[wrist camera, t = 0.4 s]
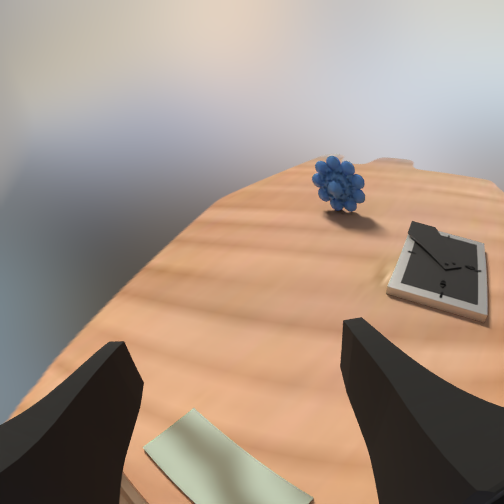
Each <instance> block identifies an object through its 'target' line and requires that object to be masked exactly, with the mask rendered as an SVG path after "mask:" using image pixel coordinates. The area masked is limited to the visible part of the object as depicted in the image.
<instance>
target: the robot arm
mask: <svg viewBox="0 0 504 504" xmlns="http://www.w3.org/2000/svg"><path fill="white" fill-rule="evenodd" d="M340 367H341V371H342V375H343V380H344V384H345V388H346V392H347V394H348V397H349V400H350V403H351V405H352V408H353V410H354V413H355V416H356V418H357V421H358V424H359V426H360V429H361V432H362V434H363V437H364V440H365V443H366V445H367V449H368V452H369V455H370V459H371V464H372V468H373V473H374V477H375V483H376V488H377V494H378V499H379V504H504V407H501V406H498V405H495V404H493V403H490V402H487V401H485V400H483V399H480V398H478V397H476V396H474V395H471V394H469V393H467V392H465V391H463V390H461V389H459V388H457V387H456V386H454V385H452V384H450V383H449V382H447V381H445V380H443V379H442V378H440V377H438V376H437V375H435V374H433V373H432V372H430V371H429V370H428V369H426V368H425V367H423V366H422V365H420V364H419V363H417V362H416V361H415V360H413V359H412V358H411V357H409V356H408V355H407V354H405V353H404V352H403V351H401V350H400V349H399V348H398V347H396V346H395V345H394V344H393V343H391V342H390V341H389V340H388V339H387V338H385V337H384V336H383V335H382V334H381V333H380V332H378V331H377V330H376V329H375V328H374V327H372V326H371V325H370V324H369V323H368V322H367V321H365V320H364V319H363V318H362V317H360V318H355V319H349V320H343V335H342V351H341V364H340ZM143 385H144V382H143V380H142V378H141V376H140V374H139V372H138V370H137V368H136V366H135V364H134V362H133V360H132V358H131V355H130V353H129V351H128V349H127V347H126V344H125V342H124V341H120V342H108V343H107V344H106V345H104V346H103V347H102V348H101V349H99V350H98V351H97V352H96V353H95V354H94V355H93V356H91V357H90V358H89V359H88V360H87V361H86V362H85V363H84V364H82V365H81V366H80V367H79V368H78V369H77V370H76V371H75V372H74V373H72V374H71V375H70V376H69V377H68V378H67V379H66V380H64V381H63V382H62V383H61V384H60V385H58V386H57V387H56V388H55V389H54V390H53V391H51V392H50V393H49V394H48V395H47V396H45V397H44V398H43V399H41V400H40V401H39V402H37V403H36V404H34V405H33V406H32V407H30V408H29V409H27V410H26V411H24V412H23V413H21V414H19V415H18V416H16V417H14V418H12V419H11V420H9V421H7V422H5V423H3V424H2V425H0V504H119V502H120V488H121V480H122V472H123V466H124V462H125V457H126V454H127V450H128V447H129V443H130V440H131V436H132V433H133V430H134V426H135V423H136V420H137V416H138V413H139V409H140V405H141V399H142V392H143Z"/></svg>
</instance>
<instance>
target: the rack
mask: <svg viewBox="0 0 504 504" xmlns="http://www.w3.org/2000/svg"><path fill="white" fill-rule="evenodd" d="M143 448H144V449H145V451H146V452H147V453H148V454H149V455H150V457H151V458H152V459H153V460H154V461H155V462H156V463H157V465H158V466H159V467H160V468H161V469H162V470H163V471H164V472H165V473H166V475H167V476H168V477H169V478H170V479H171V480H172V481H173V482H174V483H175V484H176V485H177V486H178V487H179V488H180V489H181V490H182V491H183V492H184V493H185V494H186V495H187V496H188V497H189V498H190V499H191V500H192V501H193V502H194V503H195V504H309V503H310V502H311V501H312V500H313V497H312V496H310V495H308V494H307V493H305V492H303V491H302V490H300V489H299V488H297V487H295V486H294V485H292V484H291V483H289V482H288V481H286V480H285V479H283V478H282V477H280V476H279V475H277V474H276V473H274V472H273V471H272V470H270V469H269V468H267V467H266V466H265V465H263V464H262V463H260V462H259V461H258V460H256V459H255V458H254V457H252V456H251V455H250V454H248V453H247V452H246V451H244V450H243V449H242V448H241V447H239V446H238V445H237V444H236V443H234V442H233V441H232V440H231V439H229V438H228V437H227V436H226V435H224V434H223V433H222V432H221V431H220V430H218V429H217V428H216V427H215V426H214V425H213V424H211V423H210V422H209V421H208V420H207V419H206V418H205V417H203V416H202V415H201V414H200V413H199V412H198V411H197V410H196V409H195V408H193V409H192V410H191V411H190V412H188V413H187V414H186V415H185V416H183V417H182V418H181V419H179V420H178V421H177V422H176V423H174V424H173V425H172V426H170V427H169V428H168V429H166V430H165V431H164V432H163V433H161V434H160V435H159V436H157V437H156V438H155V439H153V440H152V441H150V442H149V443H148V444H146V445H145V446H144V447H143ZM119 504H149V503H148V502H147V501H146V500H145V499H144V498H143V496H142V495H141V494H140V493H139V492H138V490H137V489H136V488H135V487H134V485H133V484H132V483H131V482H130V480H129V479H128V478H127V476H126V475H125V474H124V472H122V480H121V488H120V502H119Z"/></svg>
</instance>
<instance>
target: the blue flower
mask: <svg viewBox="0 0 504 504" xmlns="http://www.w3.org/2000/svg"><path fill="white" fill-rule="evenodd" d="M326 163H327V164H326ZM326 163H325V162H323V161H318V162H317V163H316V165H315V168H316V171H317V172H318V173H316V174H314V175H313V177H312V181H313V183H314V185H315V186H317V187H319V188H320V189H319V190H318V195H319V197H320V198H321V199H322V200H323V201H326V202H327V201H329V200H330V204H331V206H332V208H333V209H335V210H337V211H340V210H342V209H343V207H345V209H346V210H348V211H350V212H352V211H355V210H356V208H357V204H356V203H359V204H360V203H363V202H364V201H365V194H364V193H363V191H362V190H360V189H362V188H363V187H364V179H363V178H362V177H361V176H360V175H358V174H354V173H355V169H354V166H353V165H352V163H350V162H348V161H344V162H342V163H341V164H340V161H339V159H338V158H337V157H334V156H329V157H328V158H327V160H326ZM353 174H354V175H353Z"/></svg>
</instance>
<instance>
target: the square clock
mask: <svg viewBox="0 0 504 504" xmlns="http://www.w3.org/2000/svg"><path fill="white" fill-rule="evenodd" d="M386 294H389V295H392V296H396V297H399V298H402V299H406V300H409V301H413V302H416V303H419V304H423V305H426V306H429V307H433V308H436V309H440V310H443V311H446V312H450V313H453V314H456V315H460V316H463V317H467V318H470V319H473V320H477V321H480V322H485V320H486V317H487V309H488V306H487V273H486V259H485V249H484V243H480V242H477V241H473V240H470V239H466V238H462V237H459V236H455V235H451V234H448V233H444V232H440V231H438V230H437V229H436V228H435V227H432V226H428V225H425V224H421V223H418V222H414V221H412V223H411V226H410V228H409V231H408V236H407V239H406V241H405V244H404V247H403V249H402V252H401V254H400V257H399V260H398V262H397V265H396V267H395V269H394V272H393V274H392V277H391V279H390V281H389V284H388V286H387V291H386Z"/></svg>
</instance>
